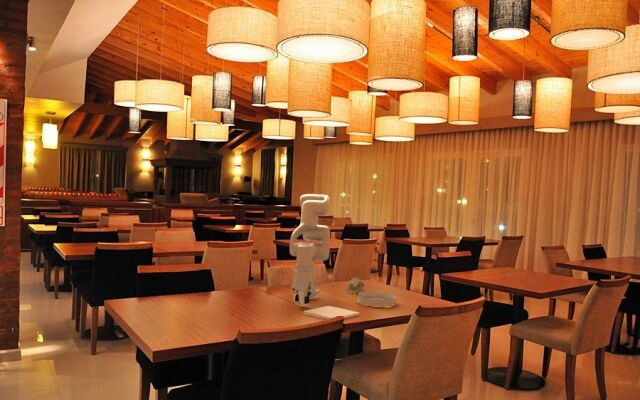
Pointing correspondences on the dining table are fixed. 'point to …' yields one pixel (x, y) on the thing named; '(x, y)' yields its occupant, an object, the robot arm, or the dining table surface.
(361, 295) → the dish
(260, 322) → the dining table surface
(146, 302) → the dining table surface
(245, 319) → the dining table surface
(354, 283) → the ceramic model
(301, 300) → the cup
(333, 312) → the board
